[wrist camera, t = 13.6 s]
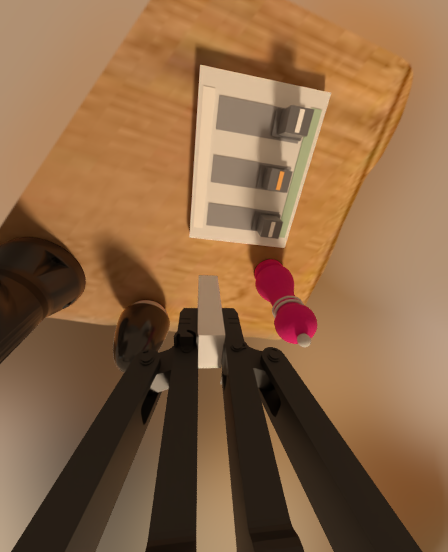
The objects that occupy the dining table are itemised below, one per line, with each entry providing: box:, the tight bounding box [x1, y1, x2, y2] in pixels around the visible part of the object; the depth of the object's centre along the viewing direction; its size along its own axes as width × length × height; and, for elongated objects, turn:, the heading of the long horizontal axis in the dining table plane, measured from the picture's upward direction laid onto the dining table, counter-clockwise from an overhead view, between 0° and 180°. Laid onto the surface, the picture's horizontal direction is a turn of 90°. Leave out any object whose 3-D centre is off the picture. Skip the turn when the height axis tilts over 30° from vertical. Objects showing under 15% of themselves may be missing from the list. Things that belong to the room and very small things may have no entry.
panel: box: [190, 65, 331, 248], centre depth 34 cm, size 18×23×2 cm
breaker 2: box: [271, 105, 315, 141], centre depth 28 cm, size 4×3×5 cm
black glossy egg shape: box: [113, 300, 170, 373], centre depth 41 cm, size 10×10×15 cm
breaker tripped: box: [256, 165, 293, 193], centre depth 31 cm, size 4×3×5 cm
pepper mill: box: [254, 259, 317, 347], centre depth 36 cm, size 7×7×20 cm
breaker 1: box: [251, 211, 283, 239], centre depth 35 cm, size 4×3×5 cm
